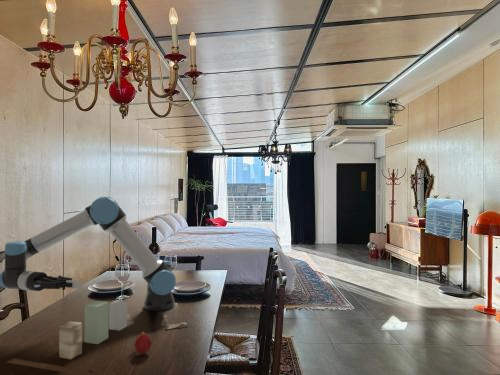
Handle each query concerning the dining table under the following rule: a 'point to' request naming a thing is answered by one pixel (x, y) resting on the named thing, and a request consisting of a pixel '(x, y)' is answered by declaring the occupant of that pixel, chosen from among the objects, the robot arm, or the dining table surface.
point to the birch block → (70, 340)
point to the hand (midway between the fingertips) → (80, 284)
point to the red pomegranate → (143, 343)
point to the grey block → (117, 315)
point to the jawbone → (171, 326)
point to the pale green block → (96, 322)
